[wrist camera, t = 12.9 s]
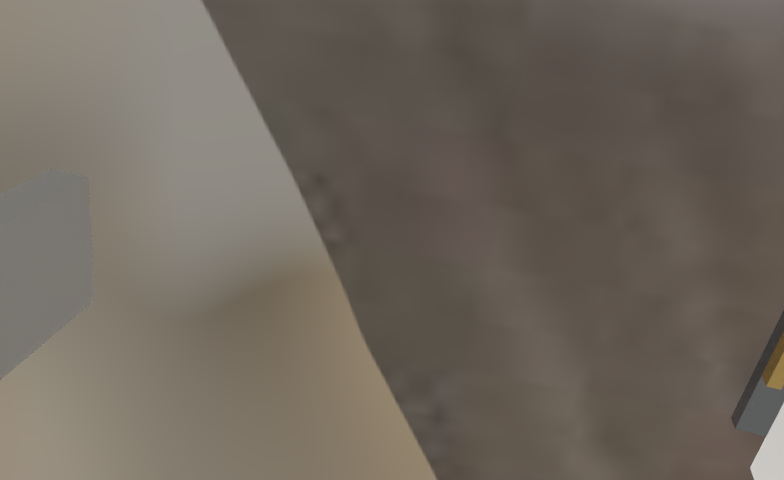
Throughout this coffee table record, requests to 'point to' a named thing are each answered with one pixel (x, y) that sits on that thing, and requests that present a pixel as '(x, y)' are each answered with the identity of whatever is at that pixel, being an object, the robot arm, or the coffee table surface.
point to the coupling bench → (764, 389)
